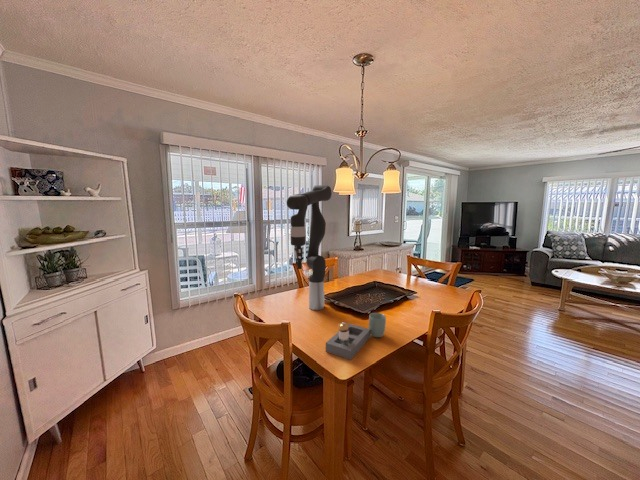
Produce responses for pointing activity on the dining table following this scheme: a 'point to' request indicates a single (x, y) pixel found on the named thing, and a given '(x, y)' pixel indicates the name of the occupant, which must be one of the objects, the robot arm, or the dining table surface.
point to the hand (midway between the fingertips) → (298, 266)
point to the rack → (356, 341)
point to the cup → (377, 324)
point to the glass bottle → (344, 333)
